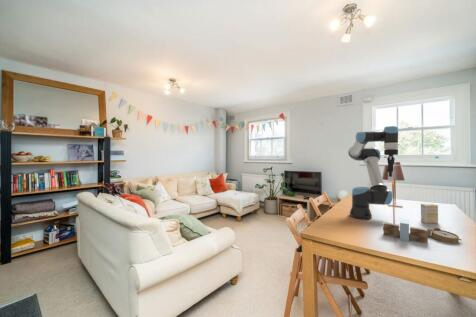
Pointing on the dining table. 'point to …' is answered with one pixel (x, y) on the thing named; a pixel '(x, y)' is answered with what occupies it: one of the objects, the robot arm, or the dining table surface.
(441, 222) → the dining table surface
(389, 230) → the walnut rail
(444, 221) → the dining table surface
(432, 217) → the supplement box
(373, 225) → the dining table surface
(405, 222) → the slotted blue block
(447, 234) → the alarm clock
